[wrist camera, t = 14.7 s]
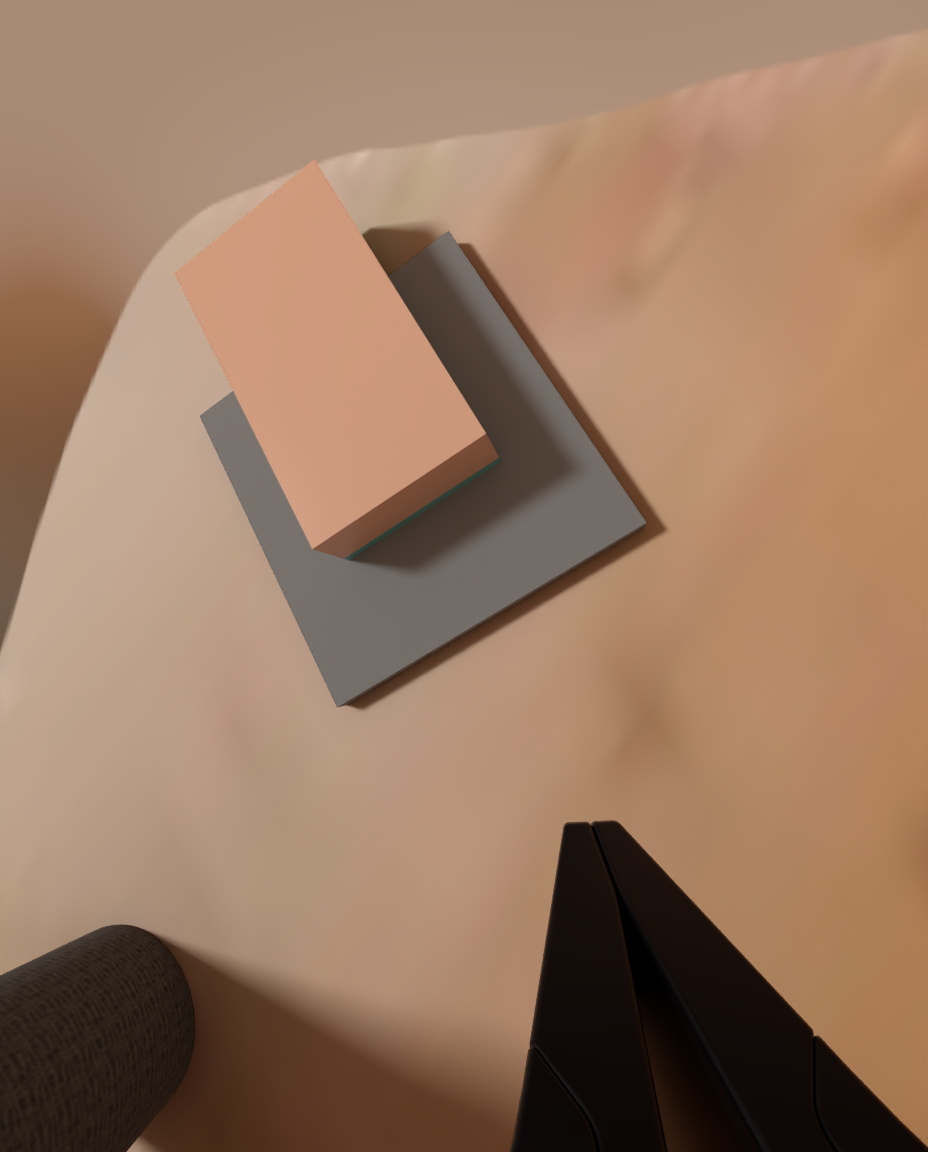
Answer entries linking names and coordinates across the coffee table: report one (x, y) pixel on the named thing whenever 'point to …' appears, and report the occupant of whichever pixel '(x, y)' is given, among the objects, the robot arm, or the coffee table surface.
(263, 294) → the tile
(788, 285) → the coffee table surface
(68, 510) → the coffee table surface
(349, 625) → the mat
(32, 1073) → the coffee cup
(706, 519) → the coffee table surface
